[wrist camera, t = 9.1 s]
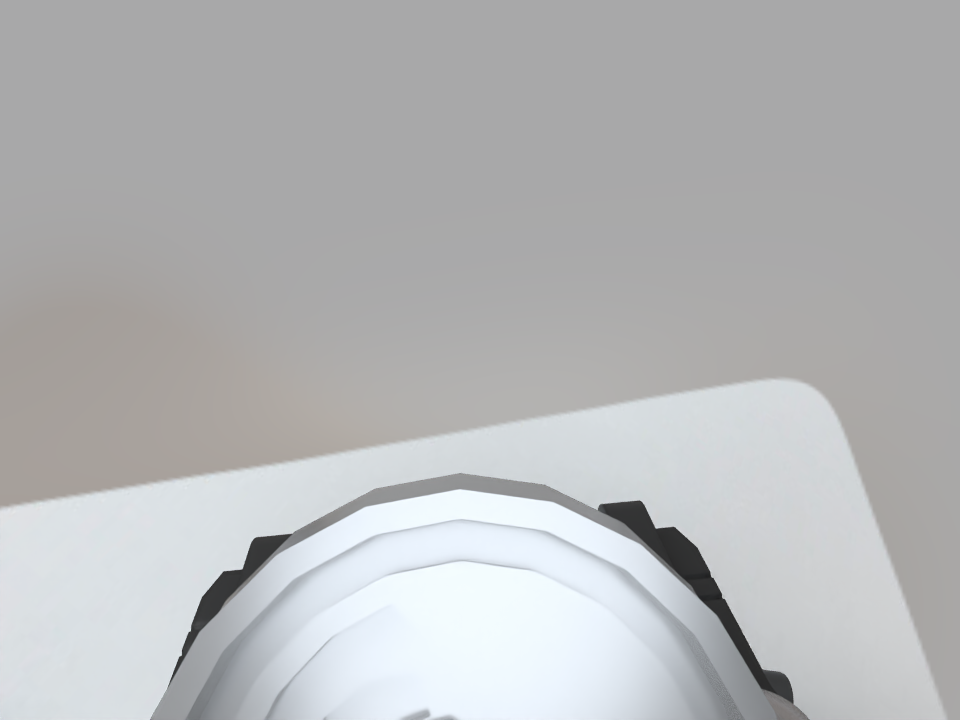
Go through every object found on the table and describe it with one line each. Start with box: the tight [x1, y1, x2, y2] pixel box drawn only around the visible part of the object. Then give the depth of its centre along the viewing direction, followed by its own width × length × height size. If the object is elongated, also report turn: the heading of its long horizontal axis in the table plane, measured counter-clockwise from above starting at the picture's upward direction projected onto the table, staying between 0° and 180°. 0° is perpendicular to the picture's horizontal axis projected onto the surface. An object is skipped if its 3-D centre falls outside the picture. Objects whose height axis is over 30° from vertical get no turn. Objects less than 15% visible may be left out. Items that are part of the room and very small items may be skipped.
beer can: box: [150, 473, 777, 720], centre depth 10 cm, size 5×5×12 cm
